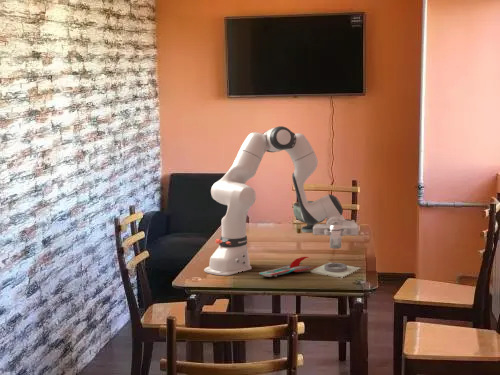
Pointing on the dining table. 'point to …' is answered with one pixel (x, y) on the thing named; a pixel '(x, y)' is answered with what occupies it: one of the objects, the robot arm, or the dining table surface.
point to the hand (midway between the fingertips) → (335, 233)
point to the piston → (335, 236)
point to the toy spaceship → (287, 268)
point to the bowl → (298, 215)
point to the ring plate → (335, 274)
